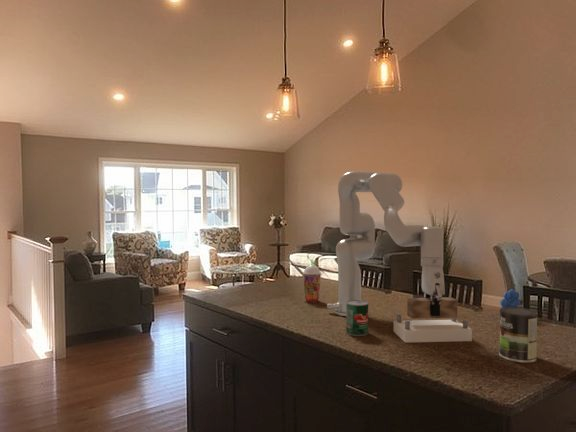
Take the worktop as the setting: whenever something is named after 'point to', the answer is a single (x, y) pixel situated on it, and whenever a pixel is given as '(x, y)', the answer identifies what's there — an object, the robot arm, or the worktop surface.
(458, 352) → the worktop surface
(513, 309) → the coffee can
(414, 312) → the brown wooden block
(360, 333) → the canned tomato
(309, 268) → the smoothie
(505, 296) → the grapes
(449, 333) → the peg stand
